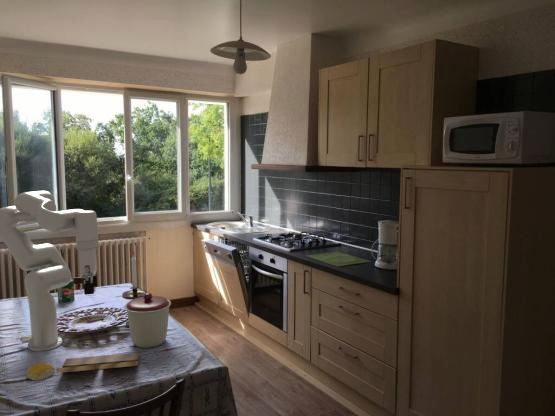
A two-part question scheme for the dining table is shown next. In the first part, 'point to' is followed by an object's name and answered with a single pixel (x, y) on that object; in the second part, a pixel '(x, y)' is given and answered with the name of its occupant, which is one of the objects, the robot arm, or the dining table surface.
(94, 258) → the robot arm
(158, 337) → the canister
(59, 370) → the oak plank left
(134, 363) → the oak plank right
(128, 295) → the candlestick
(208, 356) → the dining table surface
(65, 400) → the dining table surface
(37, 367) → the bread roll
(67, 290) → the canned tomato
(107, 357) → the walnut floor strip
